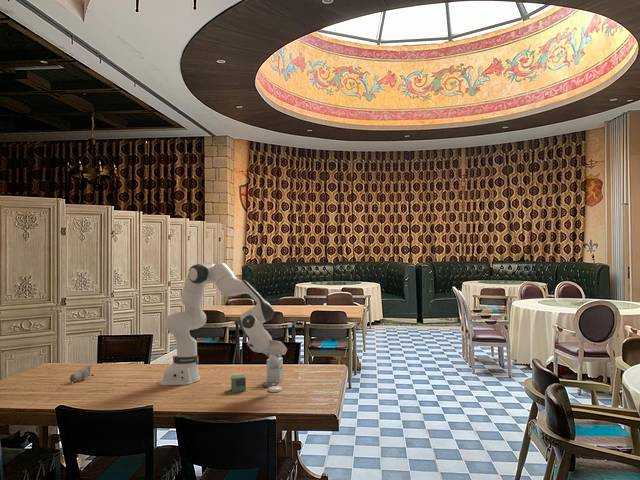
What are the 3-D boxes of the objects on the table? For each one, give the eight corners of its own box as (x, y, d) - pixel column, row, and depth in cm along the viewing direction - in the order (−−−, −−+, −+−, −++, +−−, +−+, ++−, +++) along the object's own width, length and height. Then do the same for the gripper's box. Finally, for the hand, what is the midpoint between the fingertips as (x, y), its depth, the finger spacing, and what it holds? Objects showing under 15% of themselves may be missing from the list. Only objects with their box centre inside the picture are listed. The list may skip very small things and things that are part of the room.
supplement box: (279, 383, 275) (279, 359, 275) (266, 382, 276) (266, 359, 277) (283, 379, 282) (283, 357, 282) (270, 379, 284) (270, 356, 284)
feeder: (232, 392, 259) (231, 378, 259) (231, 389, 266) (230, 375, 266) (245, 391, 261) (245, 377, 261) (244, 387, 267) (244, 374, 267)
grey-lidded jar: (270, 369, 258) (269, 347, 258) (268, 367, 263) (268, 345, 263) (280, 368, 259) (279, 347, 260) (278, 366, 264) (277, 345, 265)
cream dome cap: (269, 392, 257) (269, 390, 257) (267, 389, 264) (267, 386, 264) (282, 391, 259) (282, 389, 259) (280, 388, 265) (280, 385, 265)
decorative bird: (67, 384, 284) (67, 371, 284) (87, 377, 300) (87, 364, 300) (75, 384, 283) (74, 371, 283) (95, 377, 298) (95, 365, 298)
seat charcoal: (264, 388, 265) (264, 386, 265) (262, 384, 272) (262, 382, 272) (277, 387, 267) (277, 384, 267) (275, 383, 274) (275, 381, 274)
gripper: (282, 336, 250) (293, 352, 259) (249, 333, 261) (261, 349, 269) (277, 347, 246) (289, 363, 255) (244, 344, 257) (256, 359, 265)
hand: (274, 356), depth 262 cm, fingers closed on grey-lidded jar, 5 cm apart
